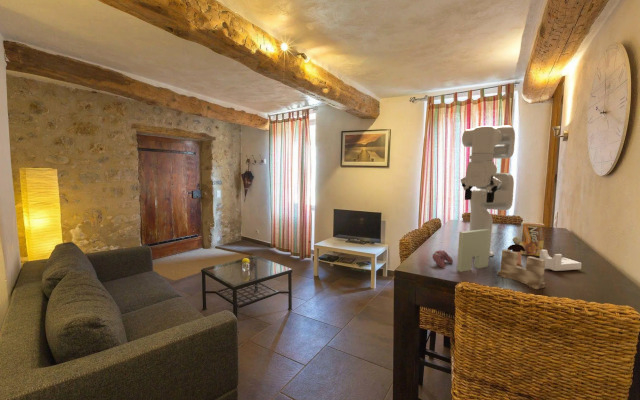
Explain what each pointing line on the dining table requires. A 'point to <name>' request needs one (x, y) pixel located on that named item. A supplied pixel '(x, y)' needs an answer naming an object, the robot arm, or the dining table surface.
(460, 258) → the sage plate
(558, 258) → the bracket
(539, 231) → the candy box
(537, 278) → the birch stand
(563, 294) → the dining table surface
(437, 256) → the video game controller
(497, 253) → the dining table surface
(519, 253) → the grandmother figurine
